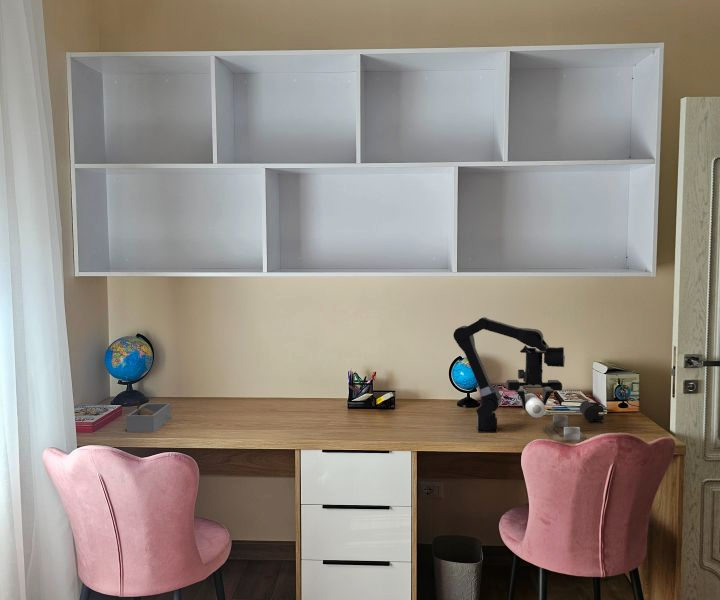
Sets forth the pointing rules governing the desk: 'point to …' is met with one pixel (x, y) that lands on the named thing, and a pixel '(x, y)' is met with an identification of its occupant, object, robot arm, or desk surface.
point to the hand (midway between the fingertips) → (533, 409)
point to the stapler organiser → (149, 418)
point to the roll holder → (564, 430)
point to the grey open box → (144, 410)
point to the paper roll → (534, 405)
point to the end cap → (592, 411)
